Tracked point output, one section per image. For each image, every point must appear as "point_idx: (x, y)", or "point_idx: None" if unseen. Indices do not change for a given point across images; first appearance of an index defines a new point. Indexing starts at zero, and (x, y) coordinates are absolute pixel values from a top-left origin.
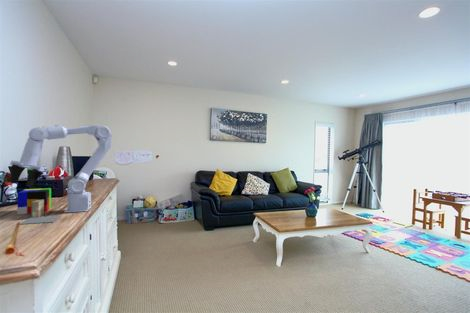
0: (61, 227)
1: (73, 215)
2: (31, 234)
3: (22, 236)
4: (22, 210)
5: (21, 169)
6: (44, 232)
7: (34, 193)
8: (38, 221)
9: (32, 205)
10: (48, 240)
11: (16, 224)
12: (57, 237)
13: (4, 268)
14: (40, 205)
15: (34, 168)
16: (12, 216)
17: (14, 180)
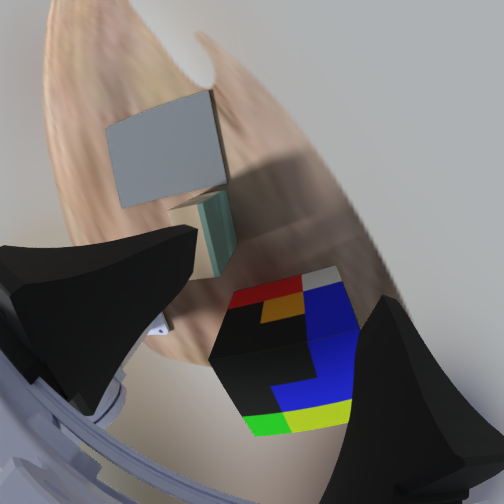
0: (65, 84)
1: (95, 225)
2: (109, 19)
3: (123, 3)
4: (320, 278)
5: (340, 488)
6: (86, 39)
7: (267, 343)
8: (154, 125)
9: (204, 200)
10: (63, 9)
11: (223, 94)
12: (53, 26)
13: None
14: None
15: (28, 393)
16: (337, 232)
17: (374, 332)
